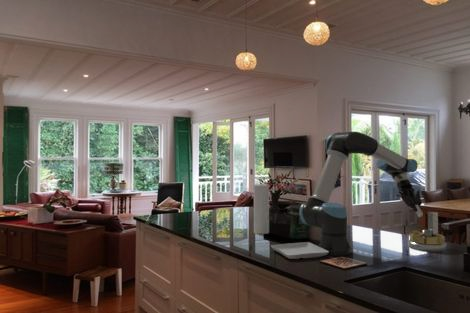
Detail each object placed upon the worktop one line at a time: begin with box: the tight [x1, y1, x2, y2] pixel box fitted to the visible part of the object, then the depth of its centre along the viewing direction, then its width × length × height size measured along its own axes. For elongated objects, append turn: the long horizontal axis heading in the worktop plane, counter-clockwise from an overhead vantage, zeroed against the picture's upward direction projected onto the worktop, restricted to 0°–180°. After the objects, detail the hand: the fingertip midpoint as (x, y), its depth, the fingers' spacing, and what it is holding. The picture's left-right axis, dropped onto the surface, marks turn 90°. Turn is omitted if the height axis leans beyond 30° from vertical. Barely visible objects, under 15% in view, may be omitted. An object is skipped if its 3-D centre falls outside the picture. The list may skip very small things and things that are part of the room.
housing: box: [408, 228, 447, 253], centre depth 194 cm, size 17×17×9 cm
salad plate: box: [270, 241, 329, 260], centre depth 182 cm, size 21×21×3 cm
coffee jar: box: [289, 205, 308, 240], centre depth 220 cm, size 10×8×19 cm
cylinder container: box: [253, 183, 270, 235], centre depth 237 cm, size 9×9×30 cm
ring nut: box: [409, 211, 446, 244], centre depth 195 cm, size 16×15×14 cm
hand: (420, 215), depth 208 cm, fingers closed
